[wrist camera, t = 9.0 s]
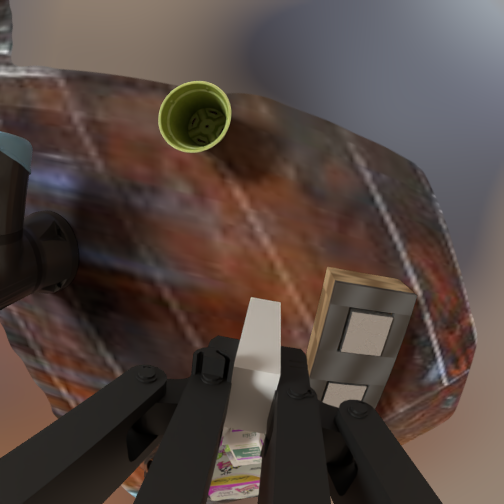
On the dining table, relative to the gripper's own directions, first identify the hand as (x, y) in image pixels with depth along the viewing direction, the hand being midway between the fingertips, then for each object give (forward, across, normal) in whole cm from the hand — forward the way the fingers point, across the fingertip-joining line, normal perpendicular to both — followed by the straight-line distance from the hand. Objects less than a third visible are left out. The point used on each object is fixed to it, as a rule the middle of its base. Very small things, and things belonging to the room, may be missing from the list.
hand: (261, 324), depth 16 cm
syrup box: (+33, +2, -30) cm, 44 cm away
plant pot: (+33, -12, +14) cm, 37 cm away
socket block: (+32, +15, -16) cm, 39 cm away
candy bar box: (+33, +2, -38) cm, 50 cm away
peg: (+32, +15, -10) cm, 37 cm away
